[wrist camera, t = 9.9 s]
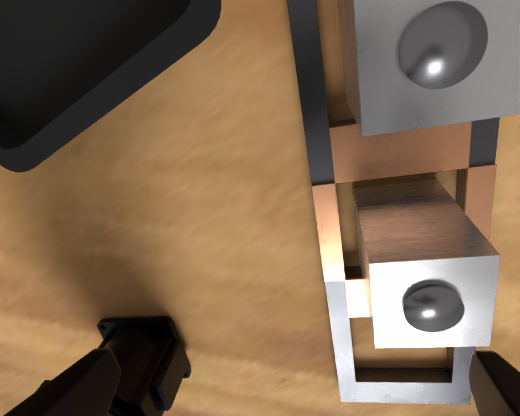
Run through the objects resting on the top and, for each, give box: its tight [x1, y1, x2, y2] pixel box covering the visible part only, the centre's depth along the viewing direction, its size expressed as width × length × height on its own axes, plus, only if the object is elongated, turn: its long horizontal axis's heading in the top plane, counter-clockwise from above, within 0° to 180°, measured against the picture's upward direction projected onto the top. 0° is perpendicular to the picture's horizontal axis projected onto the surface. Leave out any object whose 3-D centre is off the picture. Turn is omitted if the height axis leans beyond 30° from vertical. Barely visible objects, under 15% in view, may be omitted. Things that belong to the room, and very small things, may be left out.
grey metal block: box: [338, 0, 520, 137], centre depth 13 cm, size 4×4×8 cm
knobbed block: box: [352, 179, 501, 348], centre depth 17 cm, size 4×4×8 cm
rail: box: [287, 0, 500, 405], centre depth 19 cm, size 30×9×1 cm, turn 11°
